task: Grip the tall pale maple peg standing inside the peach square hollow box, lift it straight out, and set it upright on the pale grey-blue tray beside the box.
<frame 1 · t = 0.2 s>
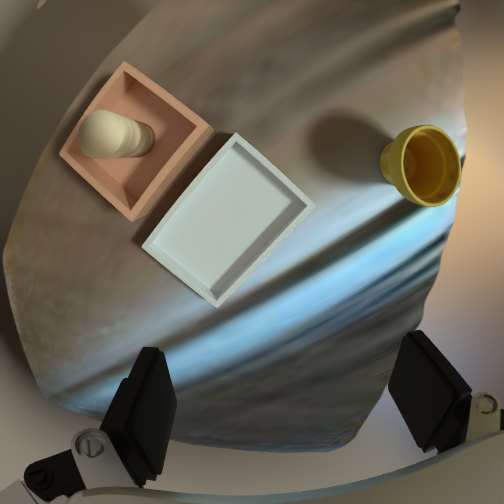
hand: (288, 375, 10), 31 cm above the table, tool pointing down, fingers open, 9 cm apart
grey tray: (226, 221, 39), on the table
peach square hollow box: (141, 140, 35), on the table
plant pot: (396, 163, 37), on the table
maple peg: (138, 140, 34), point 1 cm above the table, touching peach square hollow box
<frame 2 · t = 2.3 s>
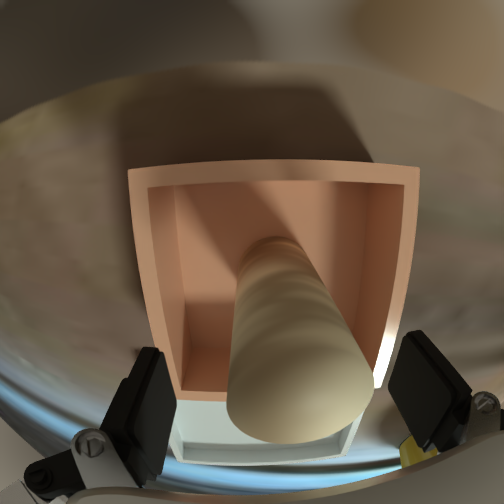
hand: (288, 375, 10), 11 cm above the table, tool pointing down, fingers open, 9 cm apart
grey tray: (261, 417, 26), on the table
peach square hollow box: (273, 266, 21), on the table
plant pot: (417, 437, 30), on the table
maple peg: (274, 271, 20), point 1 cm above the table, touching peach square hollow box
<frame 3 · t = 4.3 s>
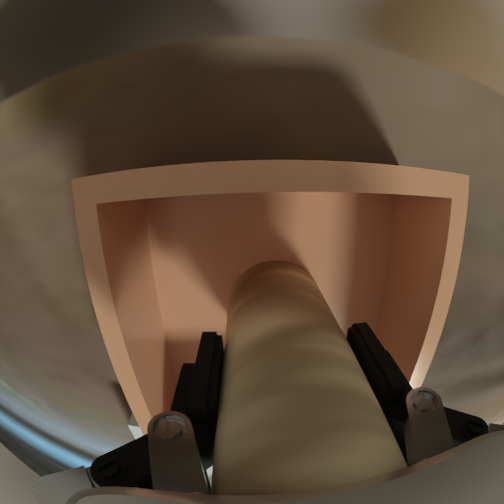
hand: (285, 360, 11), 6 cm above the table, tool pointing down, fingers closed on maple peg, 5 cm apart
peach square hollow box: (273, 295, 16), on the table
maple peg: (274, 303, 15), point 1 cm above the table, touching gripper, peach square hollow box
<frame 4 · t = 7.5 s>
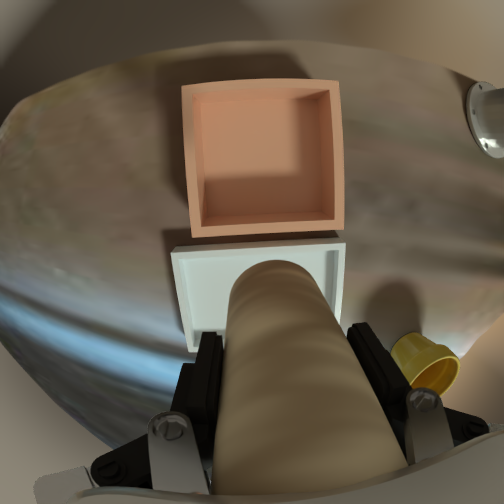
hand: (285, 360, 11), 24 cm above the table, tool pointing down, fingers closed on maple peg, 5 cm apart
grey tray: (260, 294, 36), on the table
peach square hollow box: (262, 156, 31), on the table
plant pot: (406, 347, 40), on the table
maple peg: (274, 302, 15), point 19 cm above the table, touching gripper
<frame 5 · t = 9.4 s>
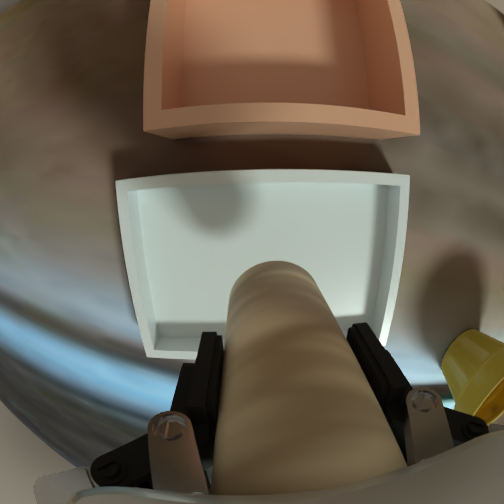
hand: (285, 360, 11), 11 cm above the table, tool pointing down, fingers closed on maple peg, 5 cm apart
grey tray: (267, 263, 21), on the table
peach square hollow box: (274, 41, 16), on the table
plant pot: (460, 349, 26), on the table
maple peg: (274, 303, 15), point 6 cm above the table, touching gripper
when the fingers open (7 cm above the table, at t = 11.1 s): maple peg drops 1 cm, resting on grey tray.
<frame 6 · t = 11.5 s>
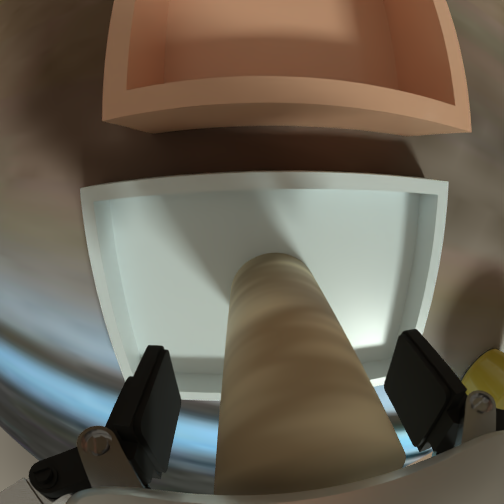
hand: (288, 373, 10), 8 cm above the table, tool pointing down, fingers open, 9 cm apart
grey tray: (271, 289, 17), on the table
peach square hollow box: (281, 13, 12), on the table
plant pot: (479, 370, 21), on the table
maple peg: (273, 293, 16), point 1 cm above the table, touching grey tray
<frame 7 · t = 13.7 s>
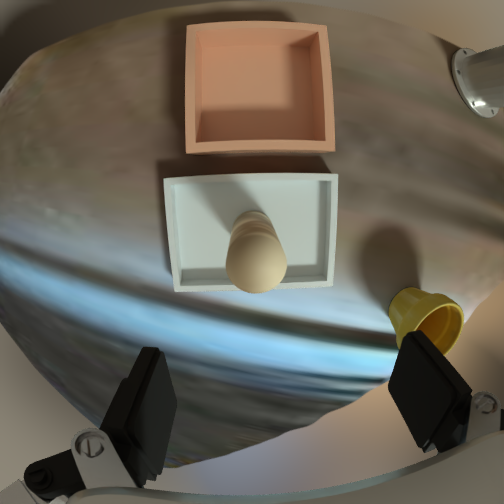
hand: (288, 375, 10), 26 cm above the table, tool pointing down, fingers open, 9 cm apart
grey tray: (252, 229, 35), on the table
peach square hollow box: (257, 93, 30), on the table
plant pot: (405, 304, 39), on the table
maple peg: (252, 230, 34), point 1 cm above the table, touching grey tray
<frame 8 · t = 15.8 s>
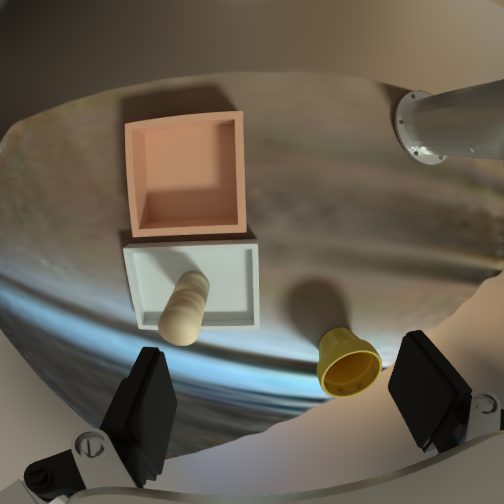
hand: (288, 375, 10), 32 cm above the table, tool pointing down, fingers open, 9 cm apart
grey tray: (194, 284, 44), on the table
peach square hollow box: (191, 173, 38), on the table
plant pot: (336, 340, 48), on the table
maple peg: (193, 285, 43), point 1 cm above the table, touching grey tray
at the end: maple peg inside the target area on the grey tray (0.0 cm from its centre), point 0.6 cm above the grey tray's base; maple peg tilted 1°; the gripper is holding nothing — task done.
